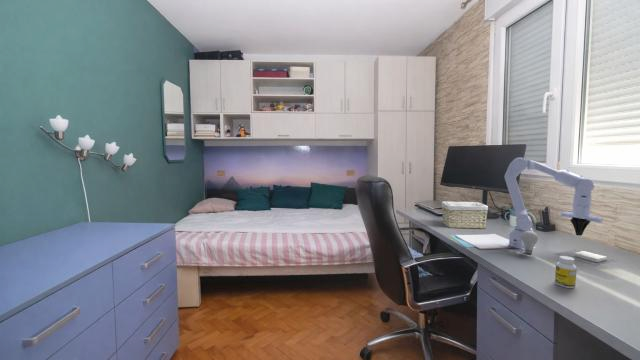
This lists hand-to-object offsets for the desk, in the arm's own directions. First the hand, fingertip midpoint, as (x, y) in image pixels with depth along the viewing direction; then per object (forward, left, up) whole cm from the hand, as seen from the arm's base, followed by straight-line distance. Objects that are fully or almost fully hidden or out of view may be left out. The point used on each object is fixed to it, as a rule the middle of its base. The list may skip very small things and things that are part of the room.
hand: (579, 235), depth 126 cm
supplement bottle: (-40, -16, -10) cm, 44 cm away
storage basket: (-4, +59, -10) cm, 60 cm away
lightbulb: (-20, +9, -10) cm, 23 cm away
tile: (-2, -1, -8) cm, 8 cm away
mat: (-2, -3, -9) cm, 10 cm away
